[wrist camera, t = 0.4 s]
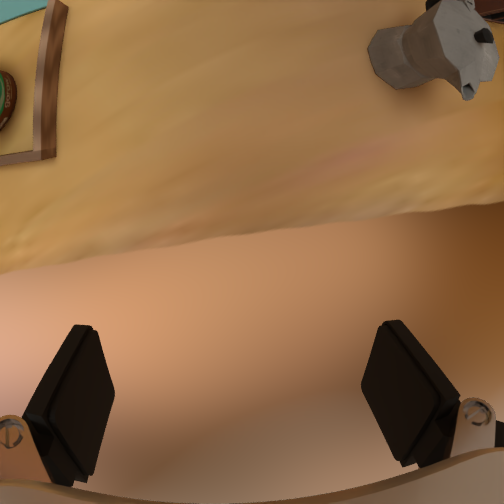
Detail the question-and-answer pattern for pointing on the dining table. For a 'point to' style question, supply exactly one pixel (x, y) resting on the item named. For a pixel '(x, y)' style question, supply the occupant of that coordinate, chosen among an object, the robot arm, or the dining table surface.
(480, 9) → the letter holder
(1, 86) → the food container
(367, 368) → the robot arm
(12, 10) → the mat
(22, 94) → the dining table surface
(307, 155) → the dining table surface
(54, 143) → the frame
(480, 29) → the coffeepot
